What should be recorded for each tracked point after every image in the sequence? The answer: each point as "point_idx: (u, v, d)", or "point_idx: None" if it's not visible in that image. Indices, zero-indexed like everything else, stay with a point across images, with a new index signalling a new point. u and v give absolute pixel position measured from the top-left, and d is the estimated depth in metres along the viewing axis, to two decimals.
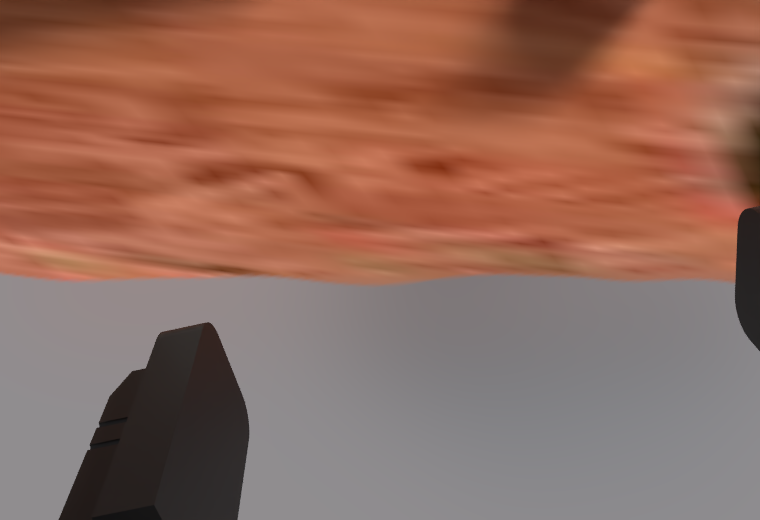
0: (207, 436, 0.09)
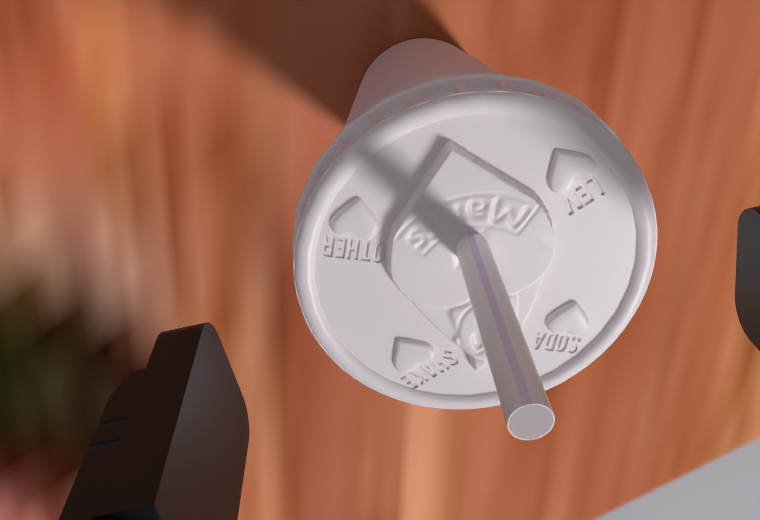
0: (207, 436, 0.09)
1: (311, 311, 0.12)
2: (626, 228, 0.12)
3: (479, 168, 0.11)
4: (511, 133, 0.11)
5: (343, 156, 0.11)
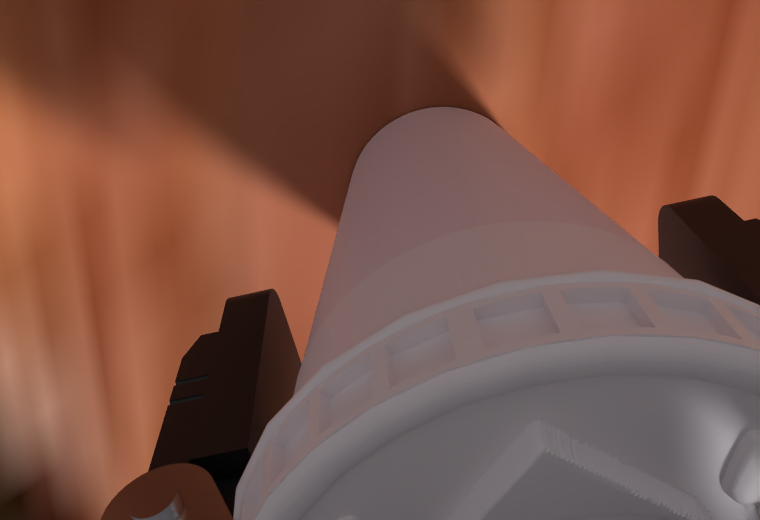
0: (279, 394, 0.10)
1: None
2: None
3: (596, 474, 0.06)
4: (663, 406, 0.05)
5: (318, 454, 0.05)
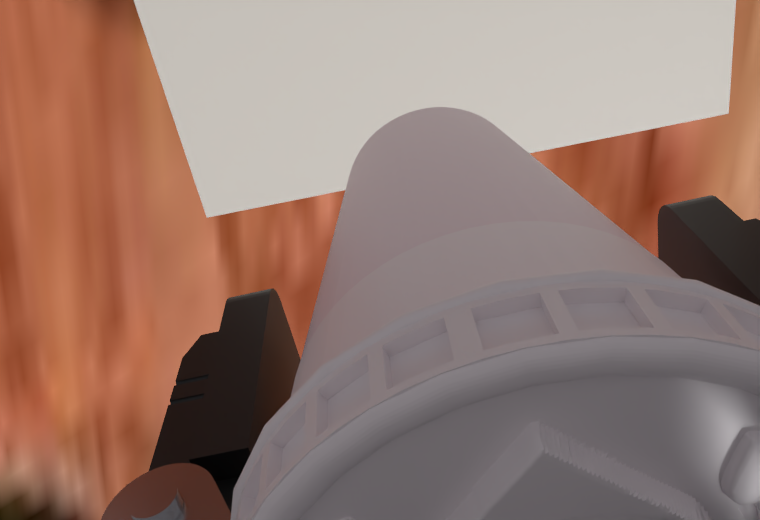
0: (279, 394, 0.10)
1: None
2: None
3: (595, 476, 0.06)
4: (661, 407, 0.05)
5: (316, 456, 0.05)
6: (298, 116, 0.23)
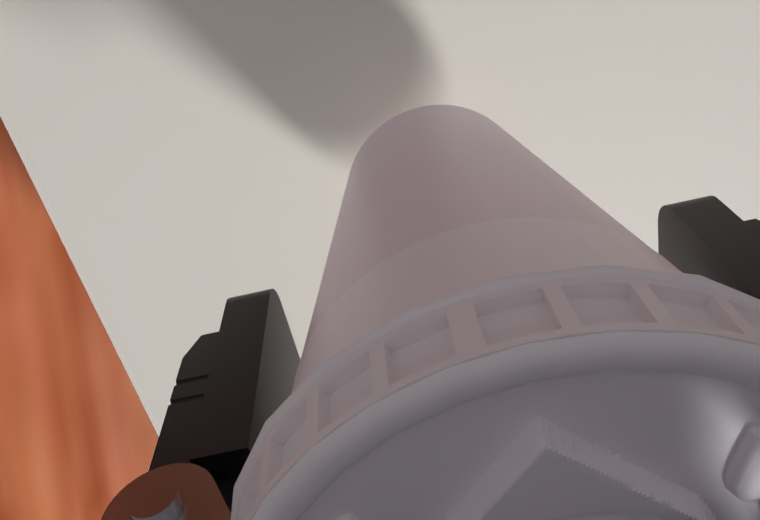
0: (279, 394, 0.10)
1: None
2: None
3: (598, 472, 0.05)
4: (665, 403, 0.05)
5: (317, 452, 0.05)
6: None
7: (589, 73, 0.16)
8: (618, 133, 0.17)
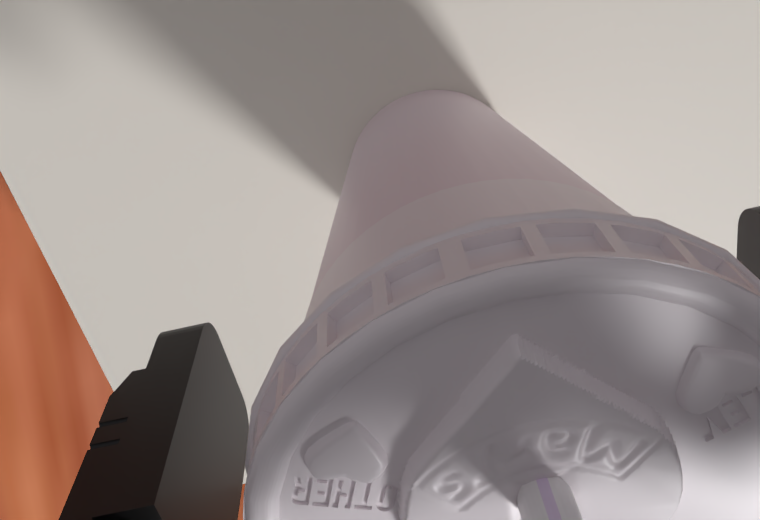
0: (207, 436, 0.09)
1: None
2: None
3: (565, 382, 0.06)
4: (623, 323, 0.06)
5: (327, 361, 0.06)
6: None
7: (607, 83, 0.15)
8: (636, 145, 0.16)
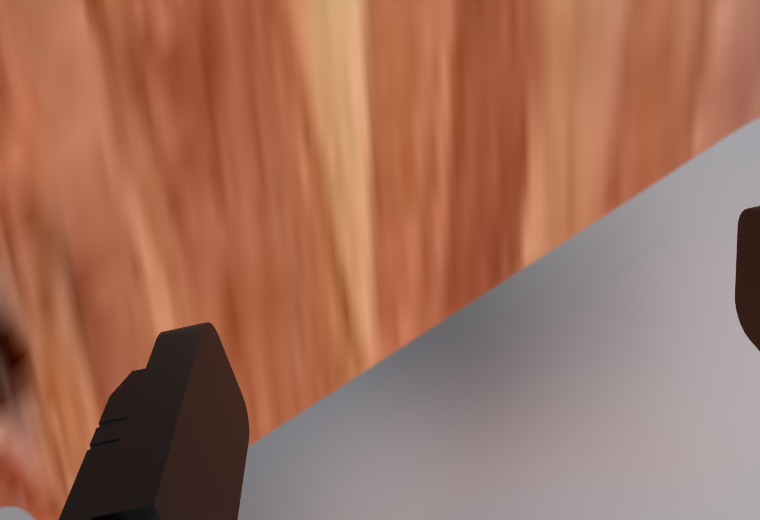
0: (207, 436, 0.09)
1: None
2: None
3: None
4: None
5: None
6: None
7: None
8: None
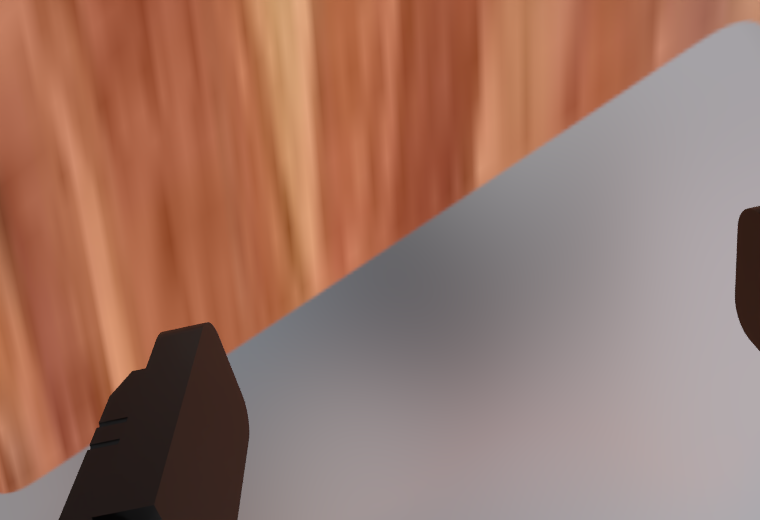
0: (207, 436, 0.09)
1: None
2: None
3: None
4: None
5: None
6: None
7: None
8: None
